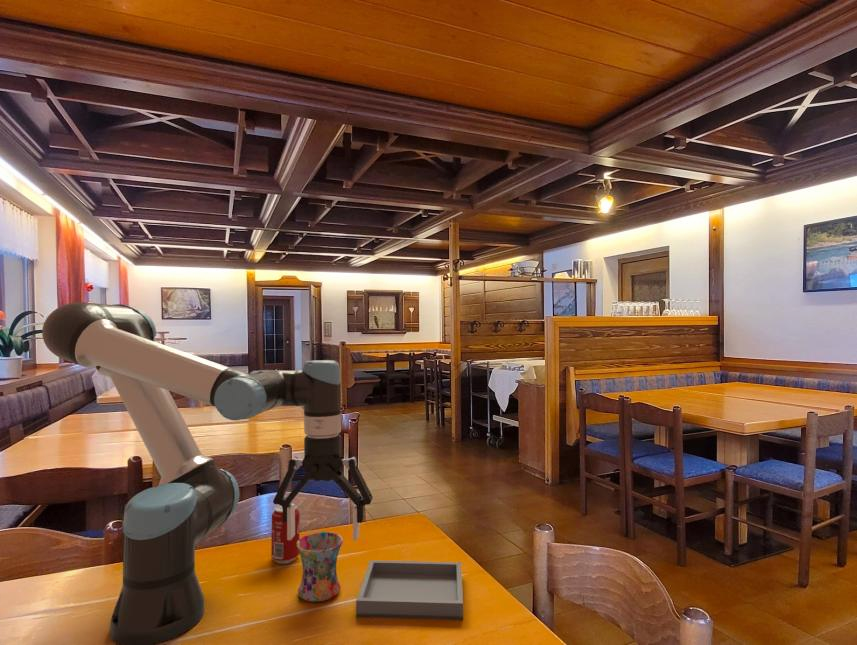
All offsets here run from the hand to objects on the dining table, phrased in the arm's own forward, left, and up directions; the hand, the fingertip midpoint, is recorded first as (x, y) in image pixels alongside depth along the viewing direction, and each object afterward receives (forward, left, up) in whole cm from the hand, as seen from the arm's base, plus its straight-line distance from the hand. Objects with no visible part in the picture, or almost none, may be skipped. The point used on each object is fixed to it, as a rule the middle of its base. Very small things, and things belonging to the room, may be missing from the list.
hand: (323, 537), depth 100 cm
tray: (+19, -1, -11) cm, 21 cm away
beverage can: (-12, +13, -11) cm, 21 cm away
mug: (0, 0, -11) cm, 11 cm away
